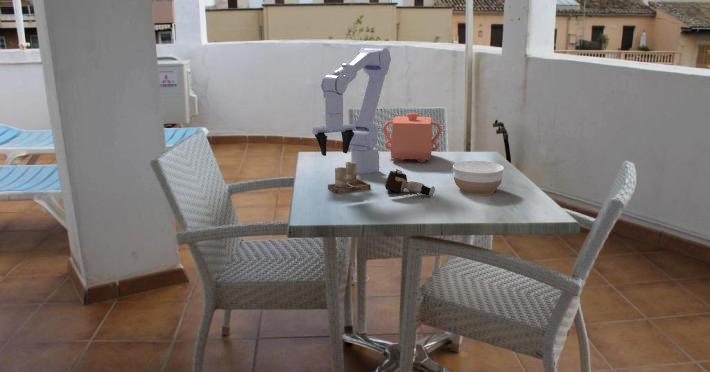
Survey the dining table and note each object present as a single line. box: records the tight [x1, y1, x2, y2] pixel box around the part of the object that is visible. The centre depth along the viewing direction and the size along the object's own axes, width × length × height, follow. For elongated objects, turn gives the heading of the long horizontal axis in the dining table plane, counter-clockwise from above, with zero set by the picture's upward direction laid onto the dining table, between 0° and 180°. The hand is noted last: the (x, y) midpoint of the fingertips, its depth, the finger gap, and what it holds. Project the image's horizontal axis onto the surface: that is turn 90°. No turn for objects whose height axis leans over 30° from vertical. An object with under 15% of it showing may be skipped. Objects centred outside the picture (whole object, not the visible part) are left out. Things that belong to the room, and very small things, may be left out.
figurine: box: [384, 168, 436, 198], centre depth 186 cm, size 9×8×15 cm
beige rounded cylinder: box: [334, 166, 347, 189], centre depth 189 cm, size 4×4×6 cm
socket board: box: [327, 179, 372, 195], centre depth 191 cm, size 12×6×2 cm, turn 116°
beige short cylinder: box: [345, 161, 358, 182], centre depth 198 cm, size 4×4×6 cm
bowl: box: [452, 160, 505, 196], centre depth 191 cm, size 16×16×8 cm
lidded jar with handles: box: [382, 112, 443, 163], centre depth 237 cm, size 25×23×18 cm
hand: (334, 154), depth 198 cm, fingers open, 7 cm apart
